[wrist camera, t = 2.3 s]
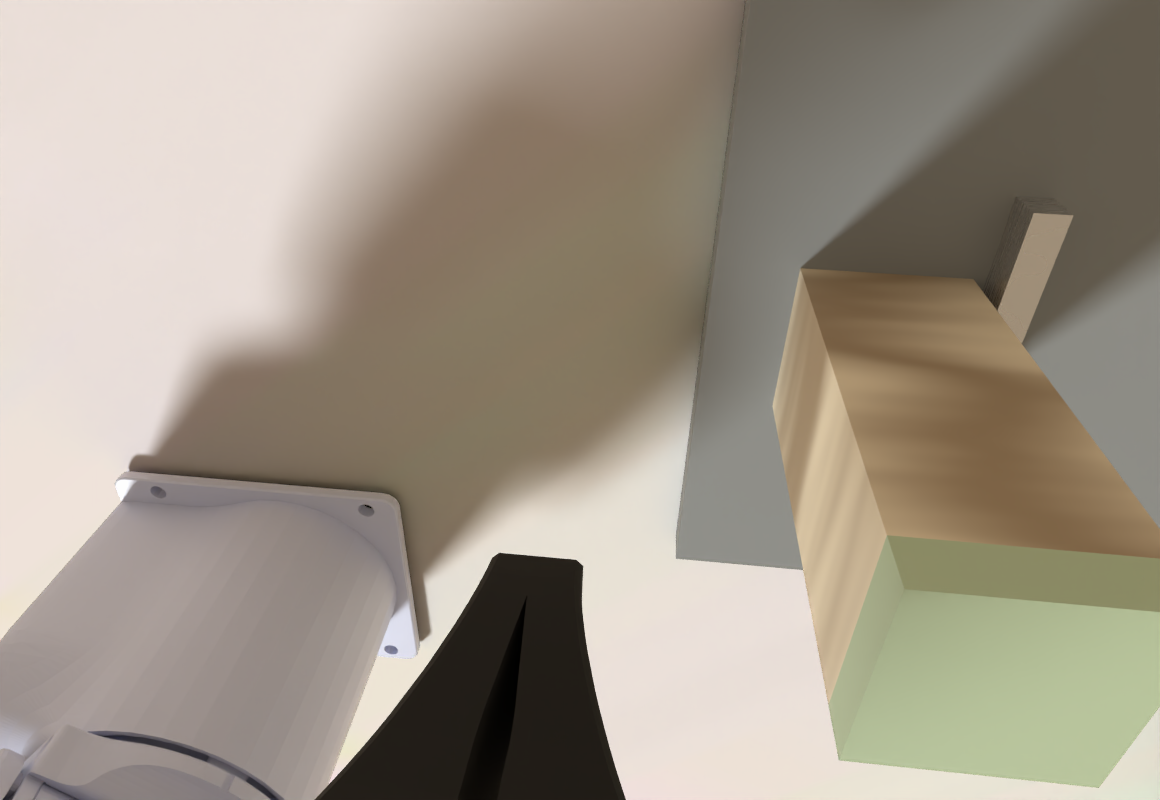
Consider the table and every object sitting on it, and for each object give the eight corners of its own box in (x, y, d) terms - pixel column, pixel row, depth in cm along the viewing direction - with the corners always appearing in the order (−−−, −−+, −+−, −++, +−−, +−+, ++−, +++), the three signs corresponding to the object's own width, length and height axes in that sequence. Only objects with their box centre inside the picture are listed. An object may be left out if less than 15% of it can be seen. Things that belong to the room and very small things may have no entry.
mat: (676, 535, 25) (676, 582, 23) (748, -27, 16) (758, -16, 14) (1262, 587, 24) (1306, 640, 22) (1704, 9, 15) (1836, 26, 13)
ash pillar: (772, 406, 21) (838, 759, 12) (800, 267, 18) (904, 589, 10) (926, 417, 20) (1099, 788, 12) (973, 279, 18) (1225, 618, 10)
